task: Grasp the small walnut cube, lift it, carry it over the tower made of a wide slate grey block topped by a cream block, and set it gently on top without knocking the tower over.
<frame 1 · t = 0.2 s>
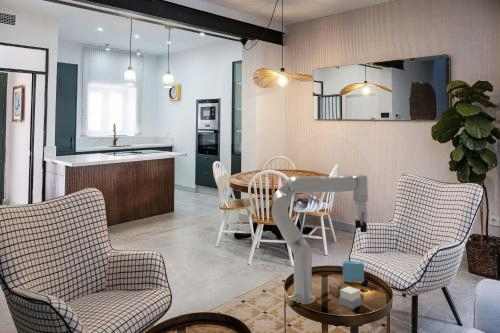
hand: (361, 229, 200), 36 cm above the table, tool pointing down, fingers open, 9 cm apart
tower top: (350, 297, 193), point 4 cm above the table, touching tower base
walnut cube: (335, 293, 207), on the table
tower base: (350, 304, 193), on the table, touching tower top
data package: (353, 282, 223), on the table
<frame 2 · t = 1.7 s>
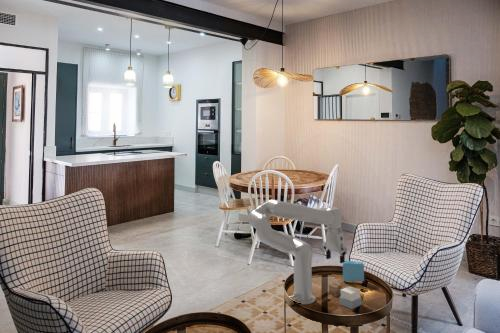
hand: (335, 260, 206), 19 cm above the table, tool pointing down, fingers open, 9 cm apart
nothing on the table moved.
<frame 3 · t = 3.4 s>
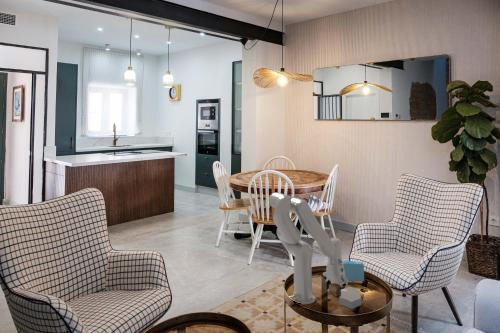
hand: (335, 291, 207), 1 cm above the table, tool pointing down, fingers open, 9 cm apart
nothing on the table moved.
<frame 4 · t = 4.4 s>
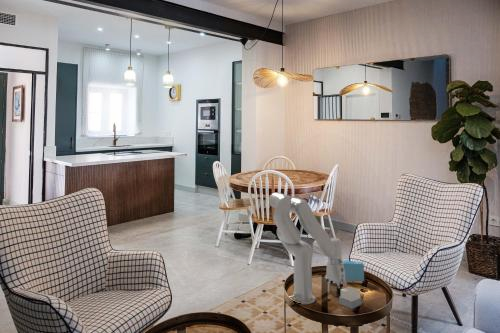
hand: (335, 292, 207), 0 cm above the table, tool pointing down, fingers closed on walnut cube, 4 cm apart
tower top: (350, 297, 193), point 4 cm above the table
walnut cube: (335, 293, 207), on the table, touching gripper
tower base: (350, 304, 193), on the table
everything else where it was.
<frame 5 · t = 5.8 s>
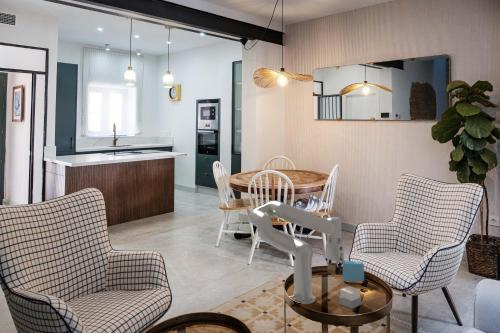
hand: (333, 272, 206), 12 cm above the table, tool pointing down, fingers closed on walnut cube, 4 cm apart
tower top: (350, 297, 193), point 4 cm above the table, touching tower base
walnut cube: (334, 272, 206), point 12 cm above the table, touching gripper
tower base: (350, 304, 193), on the table, touching tower top
everything else where it was.
when the fingers open (10 cm above the table, at t = 11.4 s): walnut cube drops 2 cm, resting on tower top.
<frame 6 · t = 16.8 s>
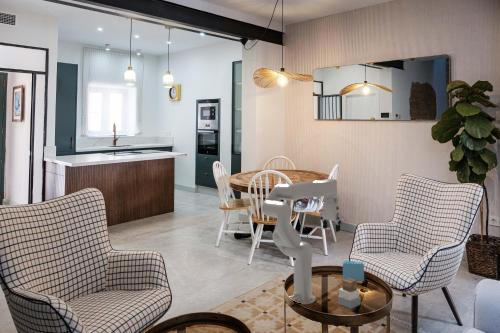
hand: (331, 229, 216), 33 cm above the table, tool pointing down, fingers open, 9 cm apart
tower top: (348, 296, 193), point 4 cm above the table, touching tower base, walnut cube
walnut cube: (349, 289, 193), point 8 cm above the table, touching tower top
everything else where it was.
at the end: walnut cube 0.2 cm off-centre on the tower base, point 8.0 cm above the tower base's base; tower top 0.3 cm off-centre on the tower base, point 4.0 cm above the tower base's base; walnut cube tilted 0° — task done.
